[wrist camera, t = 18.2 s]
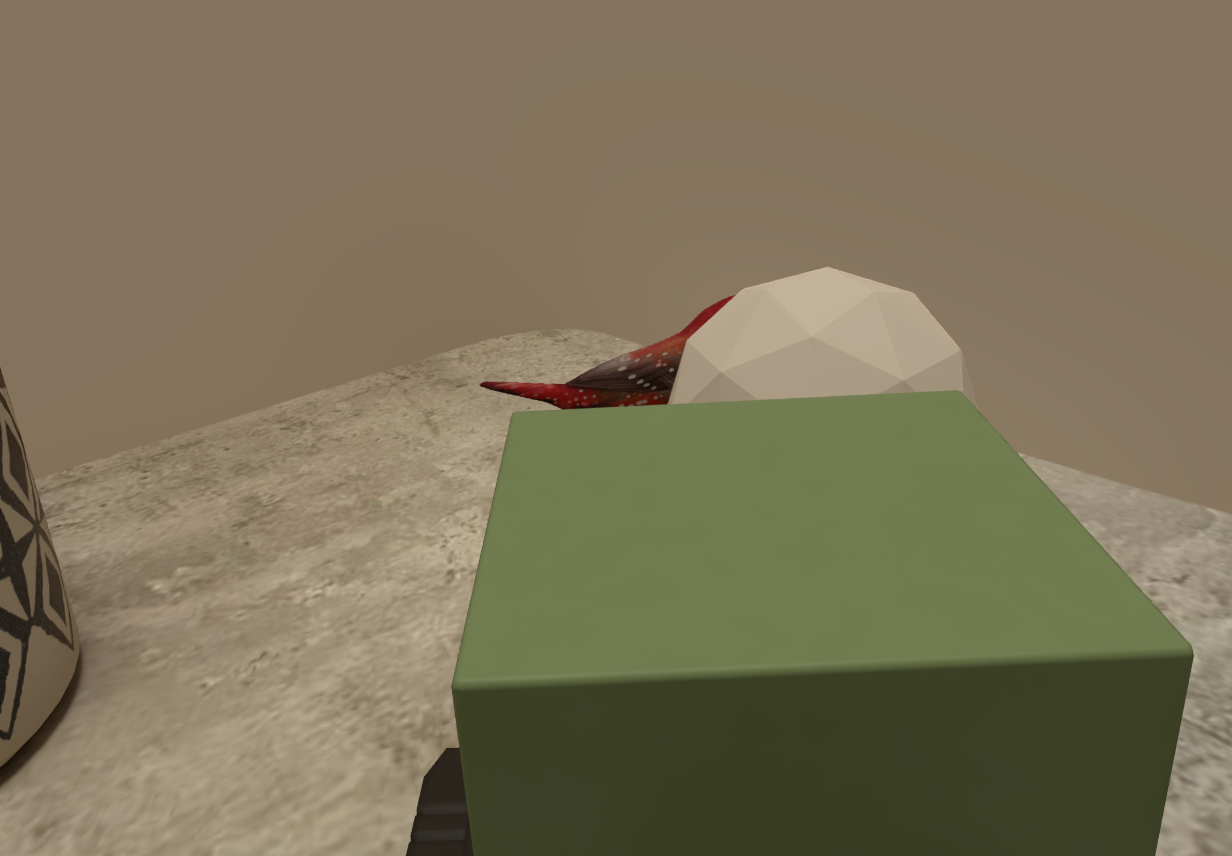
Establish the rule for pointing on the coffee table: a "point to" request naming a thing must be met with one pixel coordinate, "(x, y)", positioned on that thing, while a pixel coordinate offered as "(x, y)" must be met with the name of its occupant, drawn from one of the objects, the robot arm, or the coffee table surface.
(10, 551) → the planter
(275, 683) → the coffee table surface
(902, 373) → the geometric sphere
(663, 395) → the decorative bird figurine
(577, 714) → the green bar
